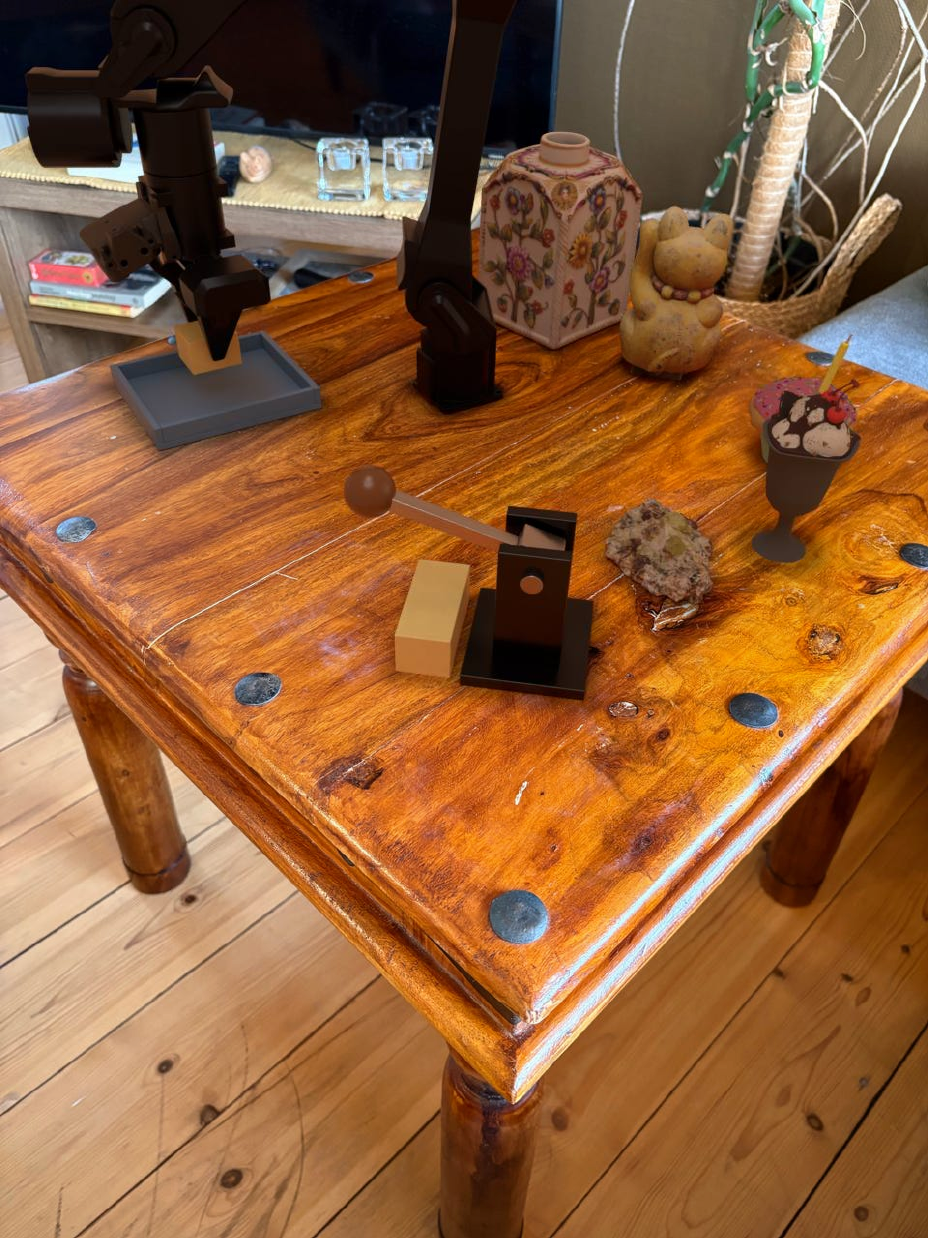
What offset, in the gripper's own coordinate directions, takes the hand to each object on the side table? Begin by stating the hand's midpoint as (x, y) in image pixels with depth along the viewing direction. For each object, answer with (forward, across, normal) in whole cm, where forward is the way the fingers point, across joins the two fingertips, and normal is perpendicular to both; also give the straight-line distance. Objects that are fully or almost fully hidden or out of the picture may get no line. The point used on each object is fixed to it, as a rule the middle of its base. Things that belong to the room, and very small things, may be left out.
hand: (209, 349), depth 89 cm
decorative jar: (+5, +1, +37) cm, 37 cm away
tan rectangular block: (+5, +39, +1) cm, 39 cm away
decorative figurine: (+5, +16, +40) cm, 43 cm away
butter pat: (+1, 0, 0) cm, 1 cm away
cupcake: (+5, +34, +39) cm, 52 cm away
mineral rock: (+5, +40, +20) cm, 45 cm away
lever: (-4, +39, +2) cm, 39 cm away
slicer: (+5, +43, +6) cm, 44 cm away
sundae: (+5, +43, +29) cm, 52 cm away
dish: (+5, 0, 0) cm, 5 cm away
